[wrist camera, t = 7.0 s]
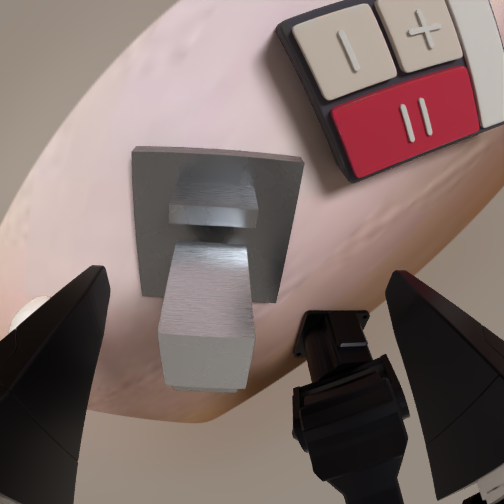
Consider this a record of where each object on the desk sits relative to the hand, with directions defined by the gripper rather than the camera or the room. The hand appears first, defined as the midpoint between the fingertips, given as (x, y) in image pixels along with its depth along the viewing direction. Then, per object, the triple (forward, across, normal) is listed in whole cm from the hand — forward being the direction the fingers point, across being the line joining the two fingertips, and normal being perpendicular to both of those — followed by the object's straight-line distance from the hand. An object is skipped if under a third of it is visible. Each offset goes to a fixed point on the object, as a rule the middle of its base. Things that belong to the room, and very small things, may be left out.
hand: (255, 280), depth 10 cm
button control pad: (+14, -11, -7) cm, 19 cm away
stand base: (+13, +2, +6) cm, 15 cm away
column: (+8, +2, +6) cm, 11 cm away
